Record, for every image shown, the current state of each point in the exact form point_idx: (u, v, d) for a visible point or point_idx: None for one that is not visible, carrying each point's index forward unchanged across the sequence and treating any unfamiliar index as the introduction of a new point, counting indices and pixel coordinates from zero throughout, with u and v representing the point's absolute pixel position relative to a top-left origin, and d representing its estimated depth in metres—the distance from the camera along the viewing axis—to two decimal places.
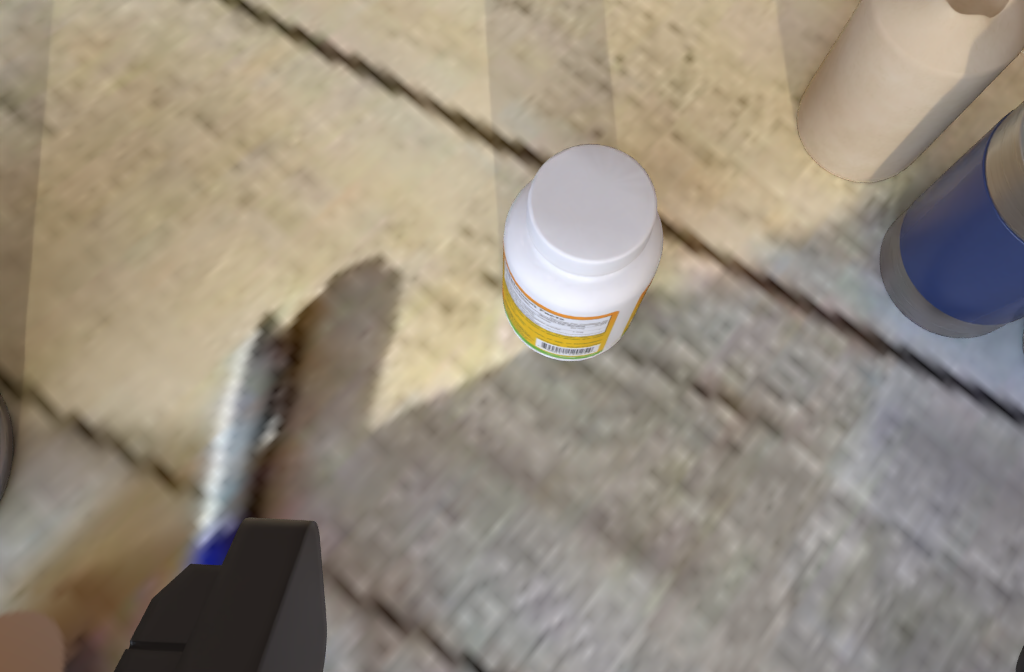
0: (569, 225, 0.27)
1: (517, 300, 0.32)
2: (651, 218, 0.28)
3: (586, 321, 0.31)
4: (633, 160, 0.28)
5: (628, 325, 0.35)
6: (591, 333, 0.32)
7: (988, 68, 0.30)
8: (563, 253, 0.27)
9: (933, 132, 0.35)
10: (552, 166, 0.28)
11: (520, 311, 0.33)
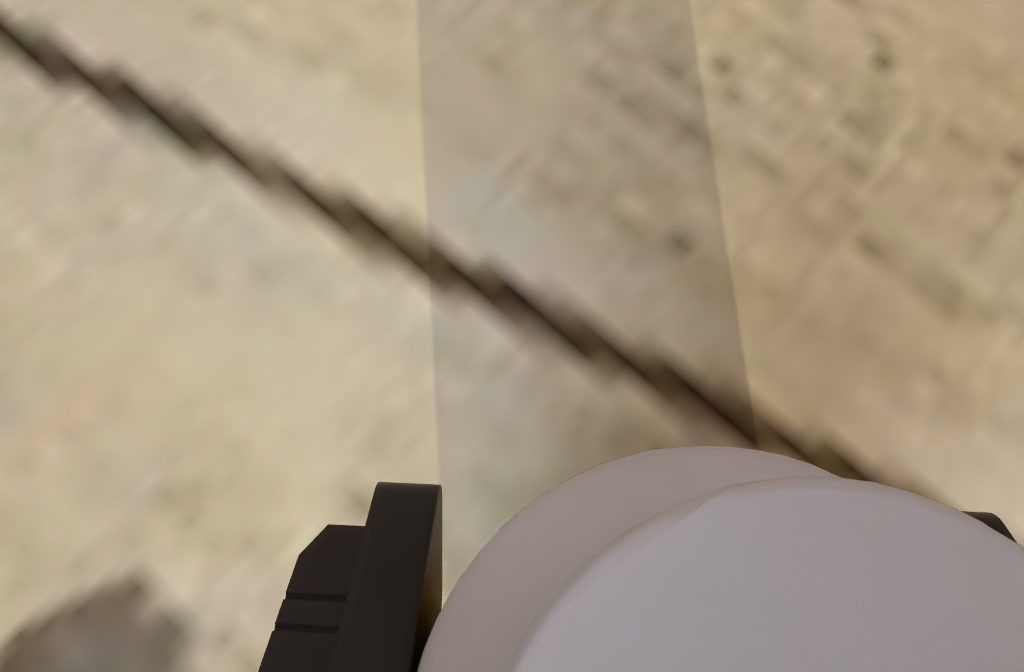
0: None
1: None
2: None
3: None
4: None
5: None
6: None
7: None
8: None
9: None
10: (610, 621, 0.05)
11: None
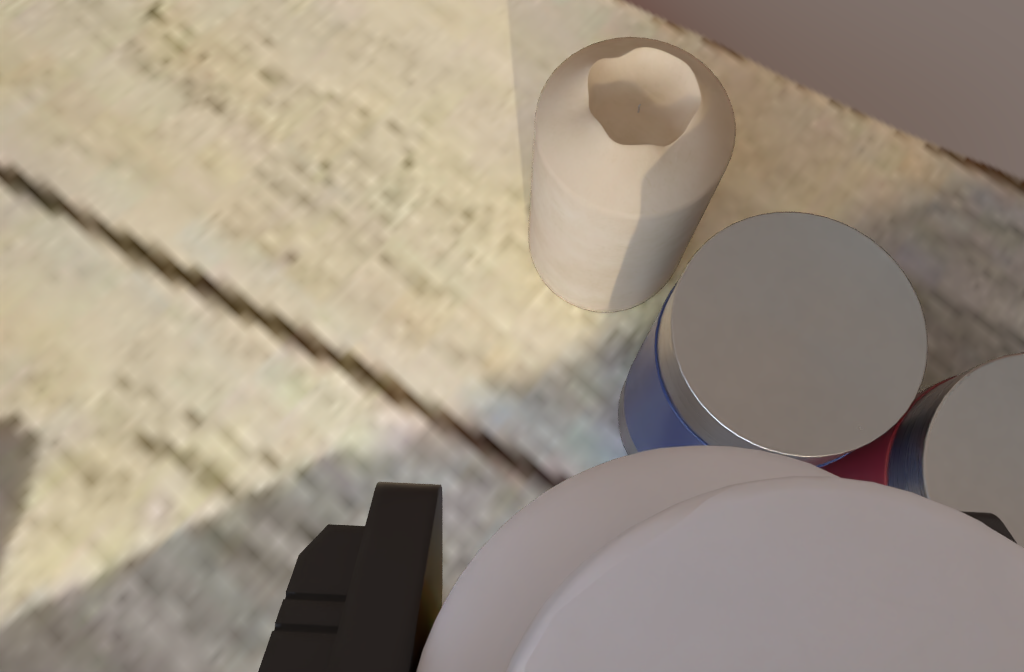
0: None
1: None
2: None
3: None
4: None
5: None
6: None
7: (671, 207, 0.24)
8: None
9: (652, 266, 0.28)
10: (609, 621, 0.05)
11: None
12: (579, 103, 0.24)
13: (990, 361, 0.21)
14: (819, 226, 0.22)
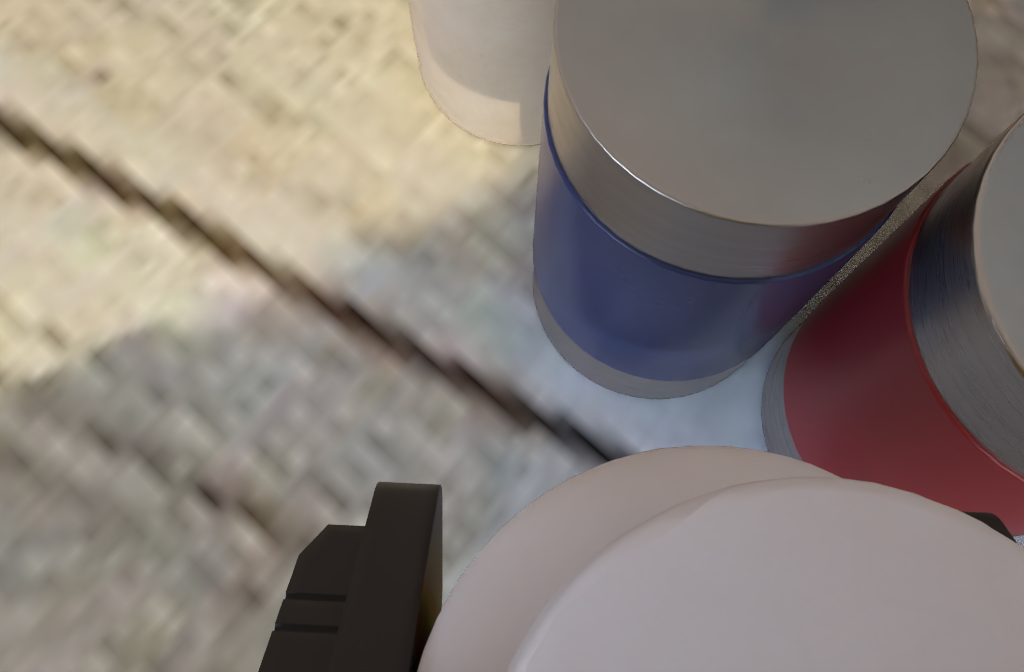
0: None
1: None
2: None
3: None
4: None
5: None
6: None
7: None
8: None
9: None
10: (610, 622, 0.05)
11: None
12: None
13: None
14: None
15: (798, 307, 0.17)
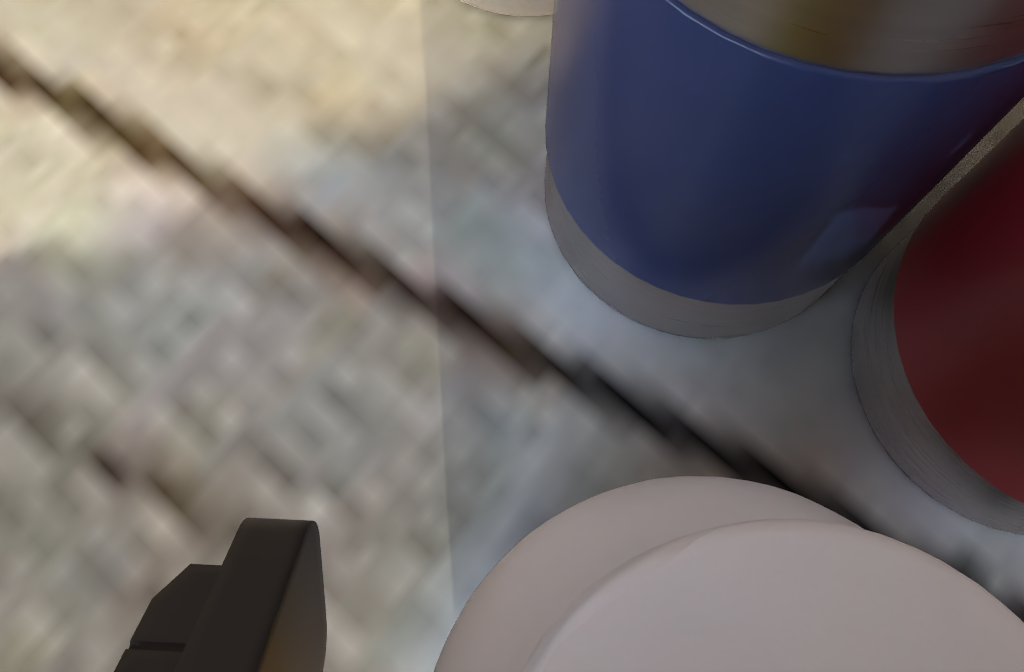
0: None
1: None
2: None
3: None
4: (994, 609, 0.06)
5: None
6: None
7: None
8: None
9: None
10: (606, 650, 0.06)
11: None
12: None
13: None
14: None
15: (946, 169, 0.11)
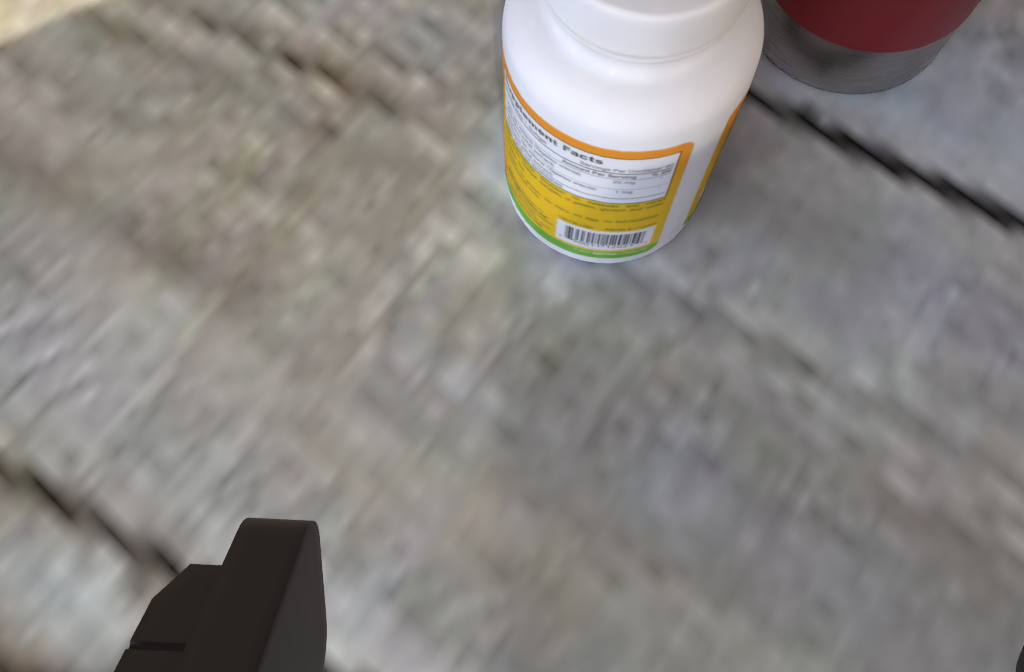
0: None
1: (526, 145, 0.20)
2: None
3: (641, 162, 0.19)
4: None
5: (696, 201, 0.23)
6: (646, 196, 0.20)
7: None
8: (604, 6, 0.15)
9: None
10: None
11: (531, 168, 0.21)
12: None
13: None
14: None
15: None
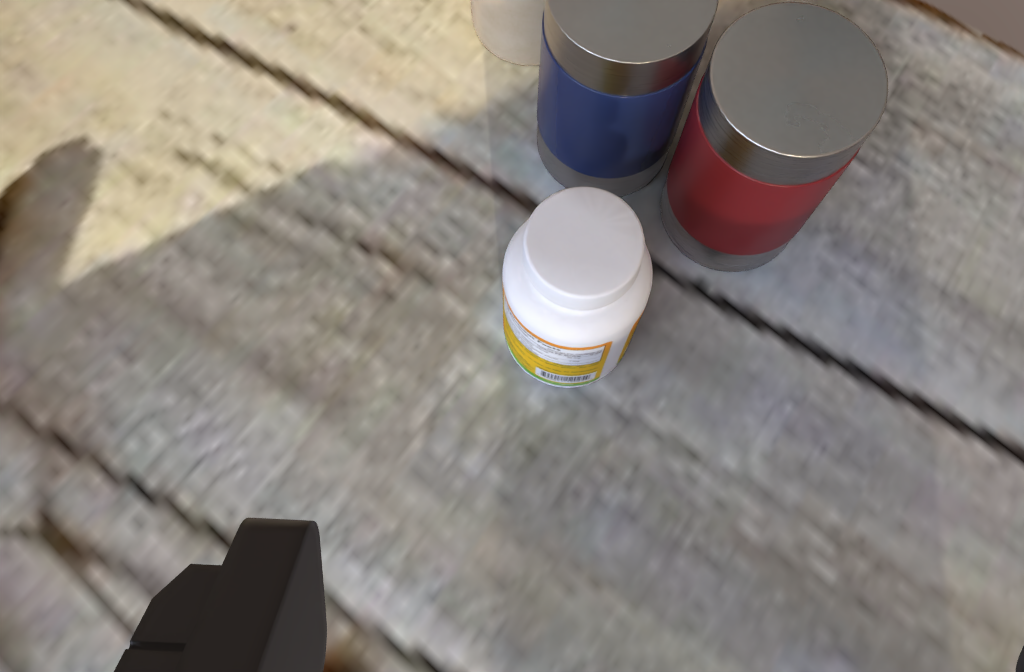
0: (562, 263, 0.29)
1: (516, 332, 0.34)
2: (639, 255, 0.29)
3: (582, 351, 0.32)
4: (622, 201, 0.30)
5: (623, 353, 0.37)
6: (587, 362, 0.34)
7: None
8: (557, 290, 0.29)
9: None
10: (546, 208, 0.30)
11: (520, 342, 0.35)
12: None
13: (759, 7, 0.31)
14: None
15: (662, 124, 0.35)
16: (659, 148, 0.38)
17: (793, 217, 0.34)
